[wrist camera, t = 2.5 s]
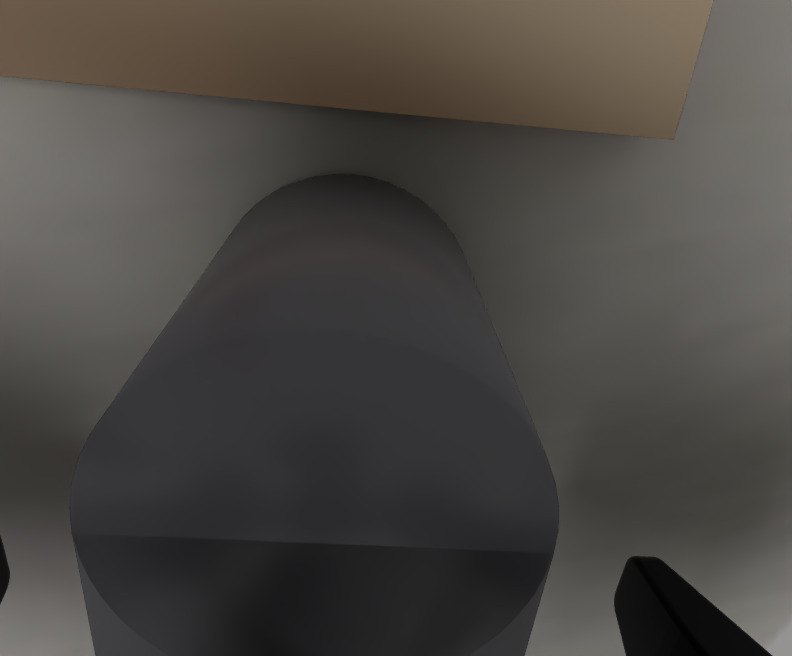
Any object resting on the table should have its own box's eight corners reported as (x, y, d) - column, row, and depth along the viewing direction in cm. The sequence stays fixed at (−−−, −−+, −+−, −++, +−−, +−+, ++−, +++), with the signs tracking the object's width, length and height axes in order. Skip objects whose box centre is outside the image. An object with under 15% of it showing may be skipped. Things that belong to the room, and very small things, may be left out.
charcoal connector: (404, 708, 14) (419, 1020, 10) (233, 705, 14) (166, 1025, 9) (489, 186, 9) (612, 347, 4) (211, 162, 8) (28, 308, 4)
